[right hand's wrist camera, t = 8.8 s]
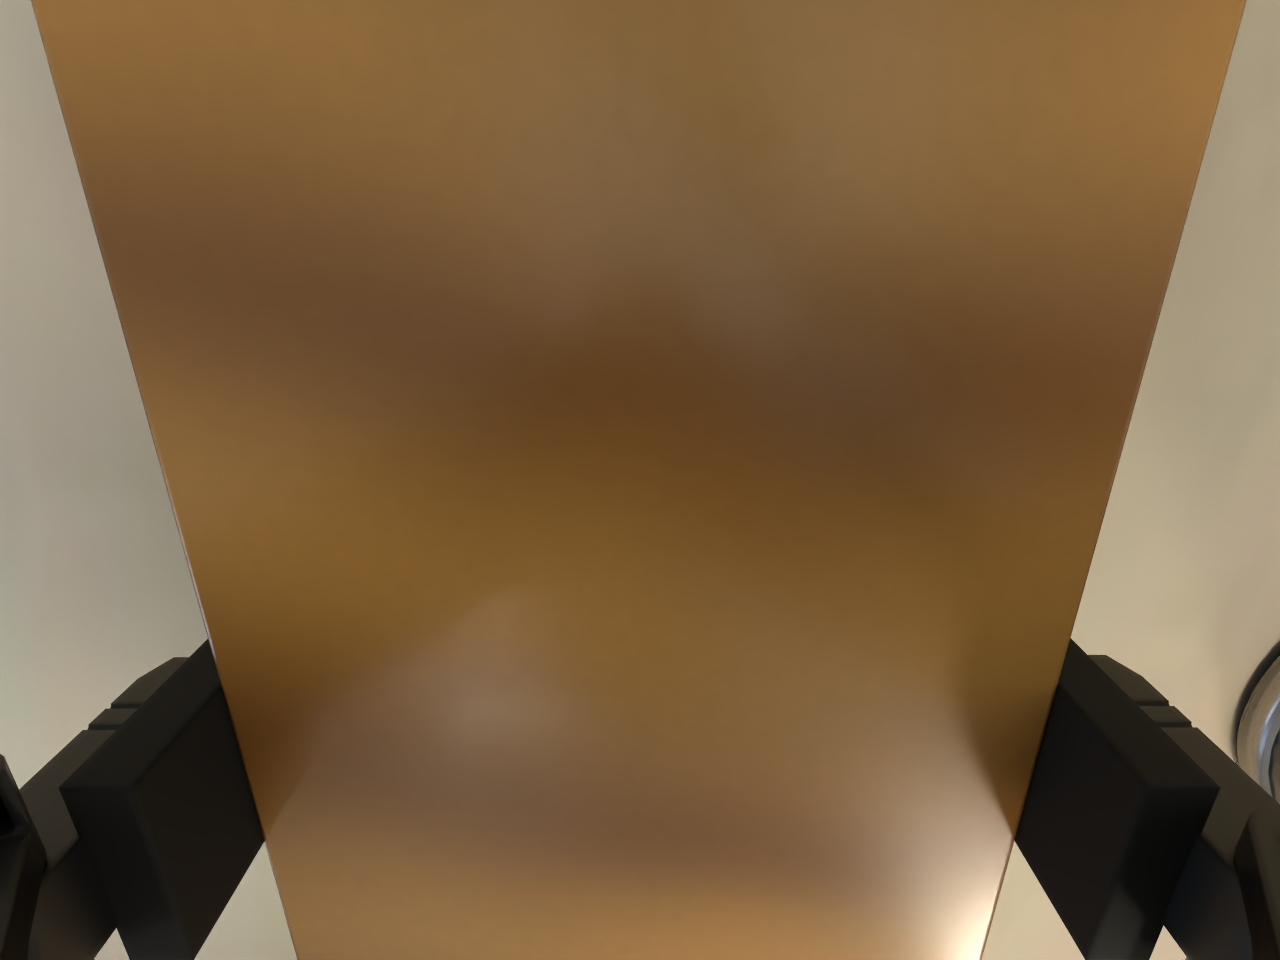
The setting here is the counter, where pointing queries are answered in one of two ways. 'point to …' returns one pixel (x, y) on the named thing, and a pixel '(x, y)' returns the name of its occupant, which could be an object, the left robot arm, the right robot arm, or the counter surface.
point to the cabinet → (639, 435)
